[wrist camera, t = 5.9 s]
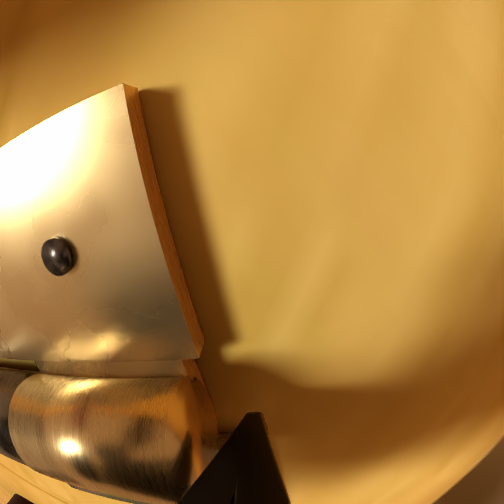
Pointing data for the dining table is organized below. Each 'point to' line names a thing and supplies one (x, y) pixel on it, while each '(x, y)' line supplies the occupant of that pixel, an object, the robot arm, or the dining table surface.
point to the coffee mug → (18, 500)
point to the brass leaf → (99, 309)
